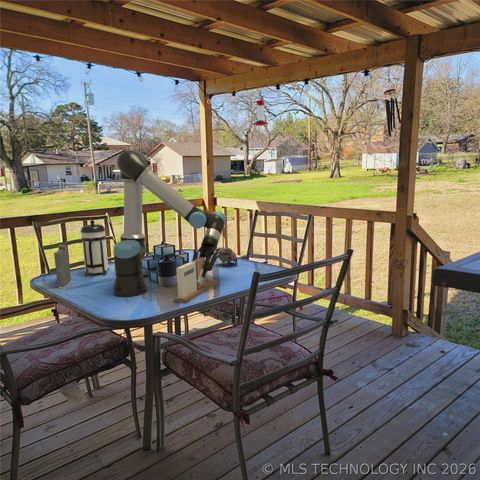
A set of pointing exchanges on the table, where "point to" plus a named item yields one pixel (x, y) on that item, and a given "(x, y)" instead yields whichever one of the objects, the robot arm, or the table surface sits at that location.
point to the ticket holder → (189, 283)
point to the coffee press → (94, 248)
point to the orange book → (200, 266)
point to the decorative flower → (226, 256)
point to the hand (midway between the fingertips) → (195, 282)
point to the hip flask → (62, 266)
